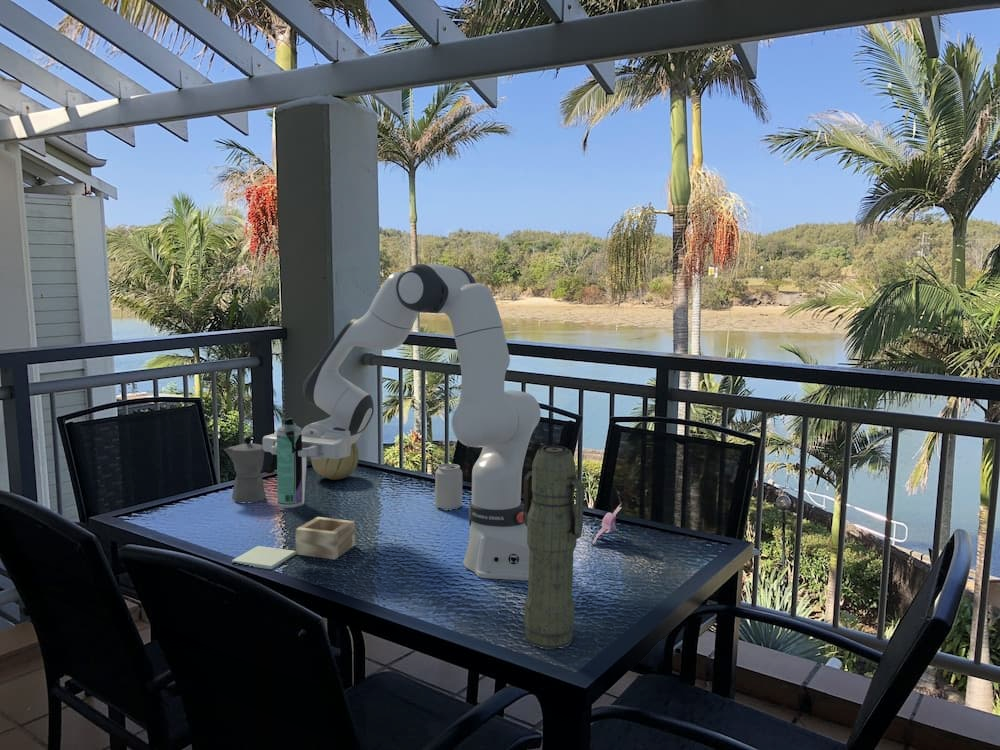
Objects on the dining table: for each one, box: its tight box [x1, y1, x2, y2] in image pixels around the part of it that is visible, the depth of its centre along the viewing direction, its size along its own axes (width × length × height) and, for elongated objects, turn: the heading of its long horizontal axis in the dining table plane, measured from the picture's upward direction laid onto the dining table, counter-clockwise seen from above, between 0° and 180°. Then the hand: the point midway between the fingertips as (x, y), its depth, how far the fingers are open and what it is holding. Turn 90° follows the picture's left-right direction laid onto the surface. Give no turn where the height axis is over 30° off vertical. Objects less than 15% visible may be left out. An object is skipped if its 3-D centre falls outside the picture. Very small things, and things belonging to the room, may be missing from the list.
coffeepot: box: [223, 436, 277, 504], centre depth 224 cm, size 15×9×18 cm, turn 100°
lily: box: [592, 503, 624, 545], centre depth 195 cm, size 12×12×10 cm
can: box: [434, 463, 463, 510], centre depth 220 cm, size 8×8×12 cm
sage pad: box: [231, 545, 297, 570], centre depth 179 cm, size 10×10×1 cm
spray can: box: [276, 417, 303, 509], centre depth 179 cm, size 6×6×20 cm
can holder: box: [295, 516, 356, 561], centre depth 185 cm, size 10×10×6 cm
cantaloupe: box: [310, 441, 360, 481], centre depth 248 cm, size 15×15×15 cm
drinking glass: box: [299, 457, 307, 507], centre depth 219 cm, size 7×7×15 cm
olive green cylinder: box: [523, 445, 585, 648], centre depth 140 cm, size 9×12×35 cm
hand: (287, 452), depth 178 cm, fingers closed on spray can, 5 cm apart
